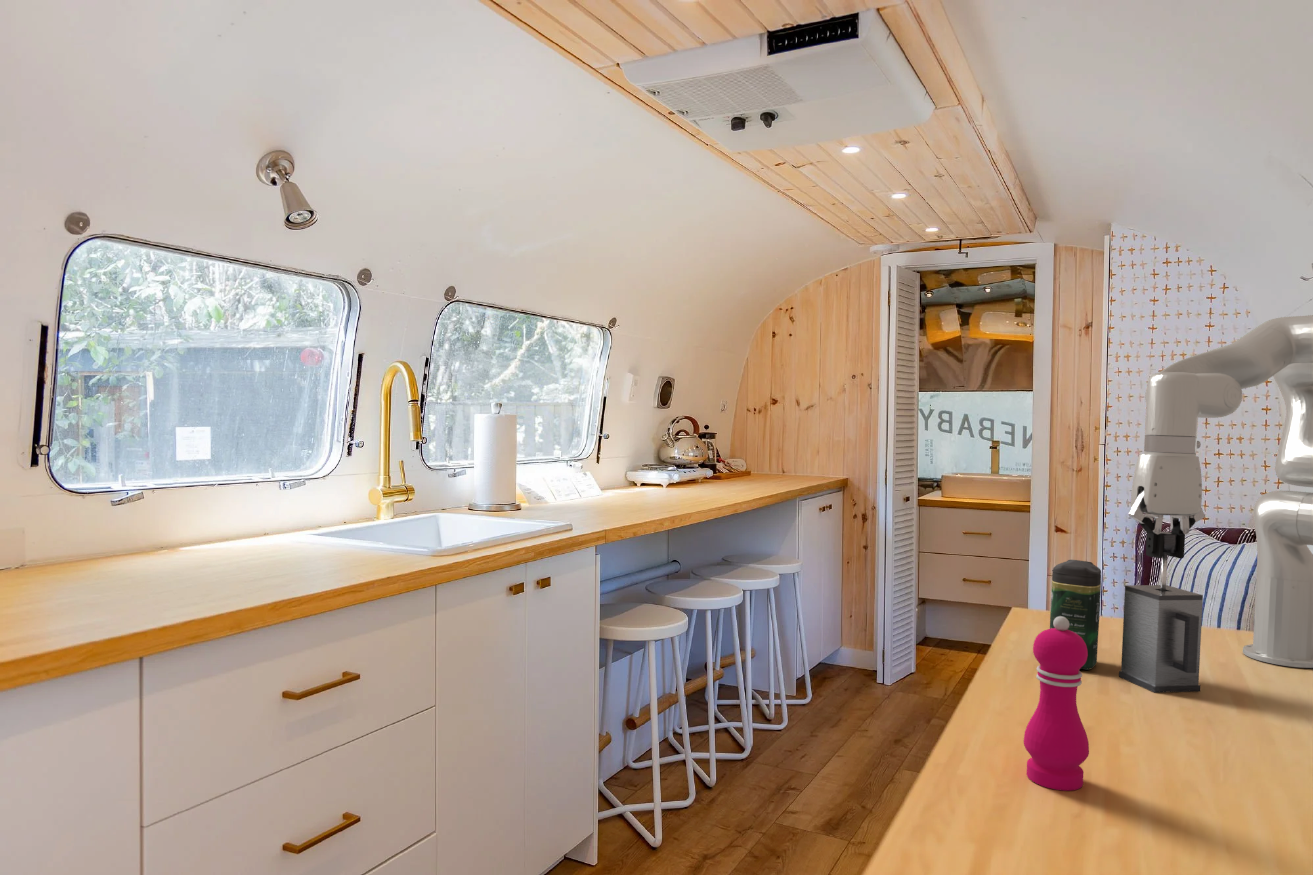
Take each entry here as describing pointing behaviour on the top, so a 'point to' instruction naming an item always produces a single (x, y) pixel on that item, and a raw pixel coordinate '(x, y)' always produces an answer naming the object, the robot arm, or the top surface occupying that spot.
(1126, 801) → the top surface
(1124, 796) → the top surface
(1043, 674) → the pepper mill
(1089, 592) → the coffee jar
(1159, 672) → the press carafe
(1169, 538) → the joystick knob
